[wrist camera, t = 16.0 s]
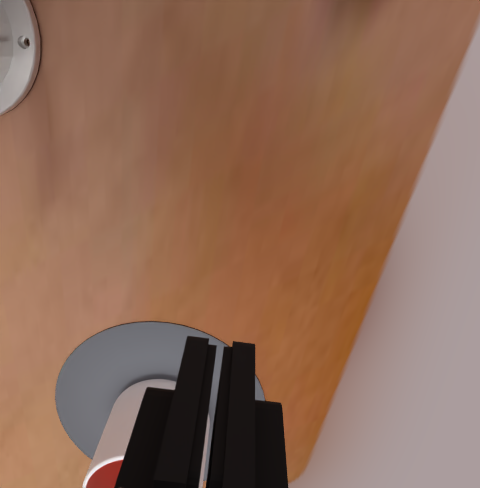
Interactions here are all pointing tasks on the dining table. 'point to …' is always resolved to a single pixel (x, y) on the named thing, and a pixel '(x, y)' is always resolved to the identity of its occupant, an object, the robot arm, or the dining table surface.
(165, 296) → the dining table surface
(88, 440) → the mat
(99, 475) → the cup
